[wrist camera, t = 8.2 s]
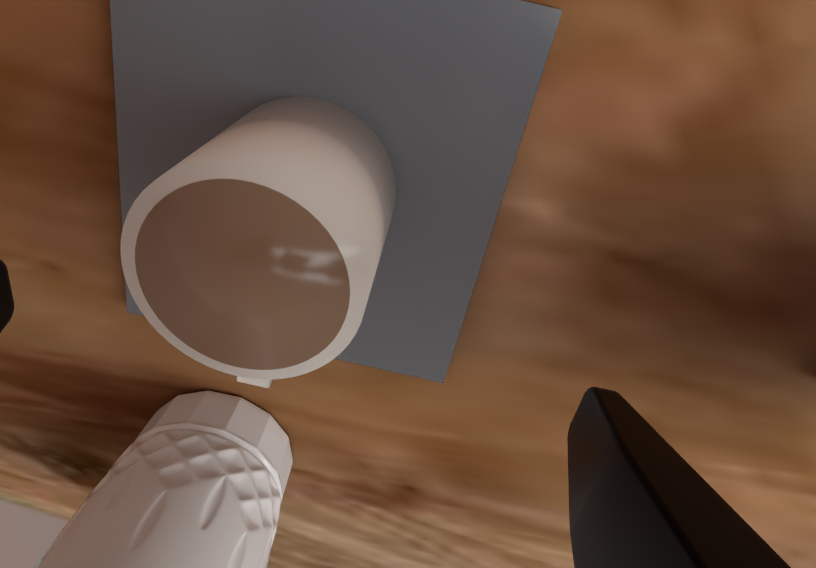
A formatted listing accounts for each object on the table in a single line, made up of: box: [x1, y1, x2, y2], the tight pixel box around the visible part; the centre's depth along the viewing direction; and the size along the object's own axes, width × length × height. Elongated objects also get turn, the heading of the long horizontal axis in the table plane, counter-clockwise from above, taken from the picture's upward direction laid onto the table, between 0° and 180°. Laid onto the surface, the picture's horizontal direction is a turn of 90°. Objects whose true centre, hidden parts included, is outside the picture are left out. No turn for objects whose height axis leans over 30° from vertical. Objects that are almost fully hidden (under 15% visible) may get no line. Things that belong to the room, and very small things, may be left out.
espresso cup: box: [120, 96, 396, 388], centre depth 17 cm, size 6×8×7 cm
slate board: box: [110, 0, 562, 383], centre depth 20 cm, size 13×14×1 cm
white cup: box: [34, 391, 293, 568], centre depth 23 cm, size 8×8×10 cm
